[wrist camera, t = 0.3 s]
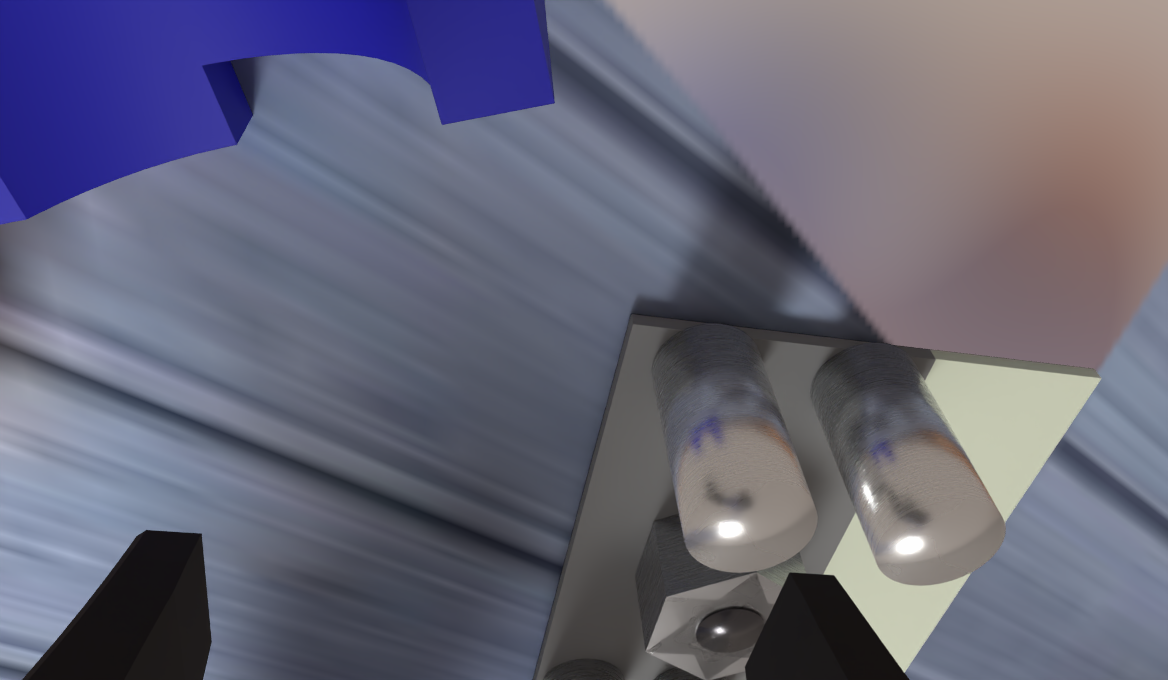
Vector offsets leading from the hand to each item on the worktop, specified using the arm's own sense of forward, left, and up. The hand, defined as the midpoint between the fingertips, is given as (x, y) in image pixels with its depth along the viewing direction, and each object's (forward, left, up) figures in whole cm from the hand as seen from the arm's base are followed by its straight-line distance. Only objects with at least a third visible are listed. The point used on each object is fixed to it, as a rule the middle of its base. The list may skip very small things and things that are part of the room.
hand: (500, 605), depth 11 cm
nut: (-10, -7, -10) cm, 15 cm away
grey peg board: (-10, -7, -10) cm, 15 cm away
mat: (-10, -9, -10) cm, 17 cm away
